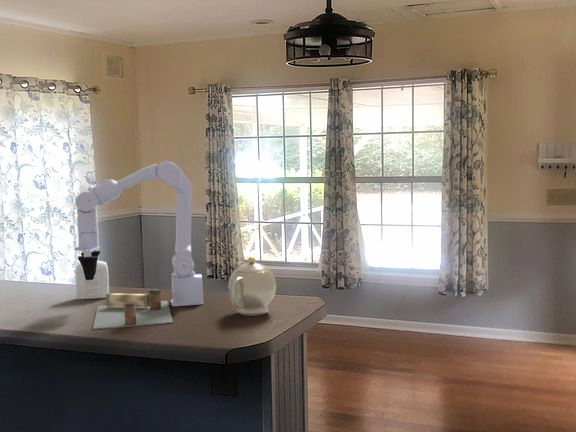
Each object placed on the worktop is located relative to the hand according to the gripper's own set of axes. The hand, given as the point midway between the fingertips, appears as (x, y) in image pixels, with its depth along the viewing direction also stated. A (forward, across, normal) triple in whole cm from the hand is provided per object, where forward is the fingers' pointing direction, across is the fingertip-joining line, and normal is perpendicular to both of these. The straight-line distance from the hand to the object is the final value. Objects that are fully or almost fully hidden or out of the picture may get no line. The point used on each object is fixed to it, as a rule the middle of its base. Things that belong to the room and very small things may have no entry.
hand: (90, 277), depth 194 cm
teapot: (+10, +20, +45) cm, 50 cm away
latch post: (+10, +21, +11) cm, 26 cm away
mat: (+10, +10, +12) cm, 18 cm away
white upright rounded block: (+10, -18, -1) cm, 21 cm away
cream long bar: (+9, +2, +10) cm, 14 cm away
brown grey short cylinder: (+10, +6, +18) cm, 22 cm away
